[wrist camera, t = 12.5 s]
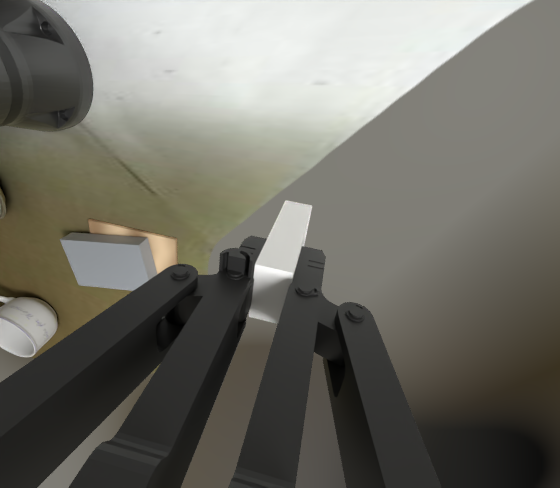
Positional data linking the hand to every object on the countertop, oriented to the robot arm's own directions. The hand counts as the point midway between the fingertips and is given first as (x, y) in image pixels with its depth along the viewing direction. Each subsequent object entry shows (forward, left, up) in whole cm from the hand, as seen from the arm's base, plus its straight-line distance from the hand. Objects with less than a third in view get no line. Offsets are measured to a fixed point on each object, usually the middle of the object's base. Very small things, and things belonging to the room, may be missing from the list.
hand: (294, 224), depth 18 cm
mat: (-27, -24, -24) cm, 44 cm away
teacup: (-51, -43, -25) cm, 71 cm away
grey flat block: (-23, -24, -22) cm, 41 cm away
